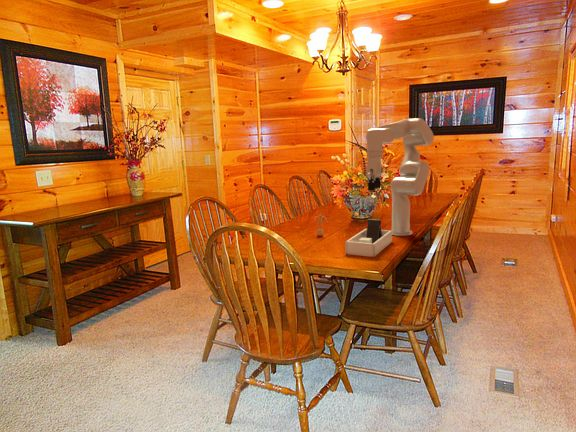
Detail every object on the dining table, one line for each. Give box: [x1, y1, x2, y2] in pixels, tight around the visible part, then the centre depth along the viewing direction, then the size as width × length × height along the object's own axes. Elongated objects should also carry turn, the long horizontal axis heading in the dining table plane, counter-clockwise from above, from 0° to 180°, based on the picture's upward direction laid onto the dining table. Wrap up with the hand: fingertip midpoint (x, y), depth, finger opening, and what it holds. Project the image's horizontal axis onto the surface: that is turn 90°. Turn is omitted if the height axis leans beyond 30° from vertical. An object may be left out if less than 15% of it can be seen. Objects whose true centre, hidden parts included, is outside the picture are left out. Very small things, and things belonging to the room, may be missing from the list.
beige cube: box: [359, 237, 372, 243], centre depth 206 cm, size 5×5×5 cm
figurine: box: [312, 213, 329, 237], centre depth 240 cm, size 8×6×12 cm
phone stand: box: [366, 218, 382, 244], centre depth 218 cm, size 9×6×12 cm, turn 151°
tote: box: [345, 228, 393, 258], centre depth 212 cm, size 30×14×6 cm, turn 151°
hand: (374, 189), depth 214 cm, fingers open, 9 cm apart
